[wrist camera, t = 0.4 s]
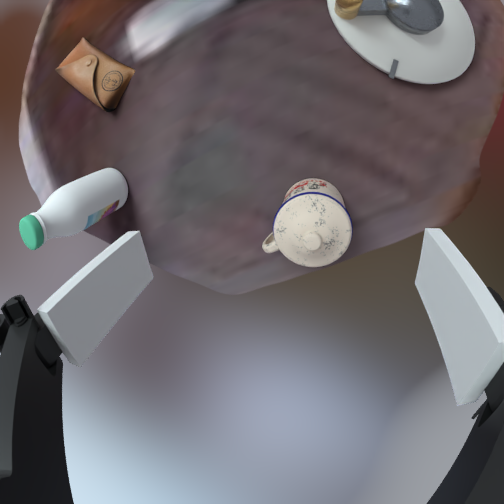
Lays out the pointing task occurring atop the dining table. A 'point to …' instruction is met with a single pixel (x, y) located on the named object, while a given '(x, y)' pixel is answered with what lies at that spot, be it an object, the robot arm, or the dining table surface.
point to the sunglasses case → (96, 75)
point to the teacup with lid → (311, 224)
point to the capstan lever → (396, 12)
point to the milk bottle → (75, 207)
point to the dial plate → (412, 45)
